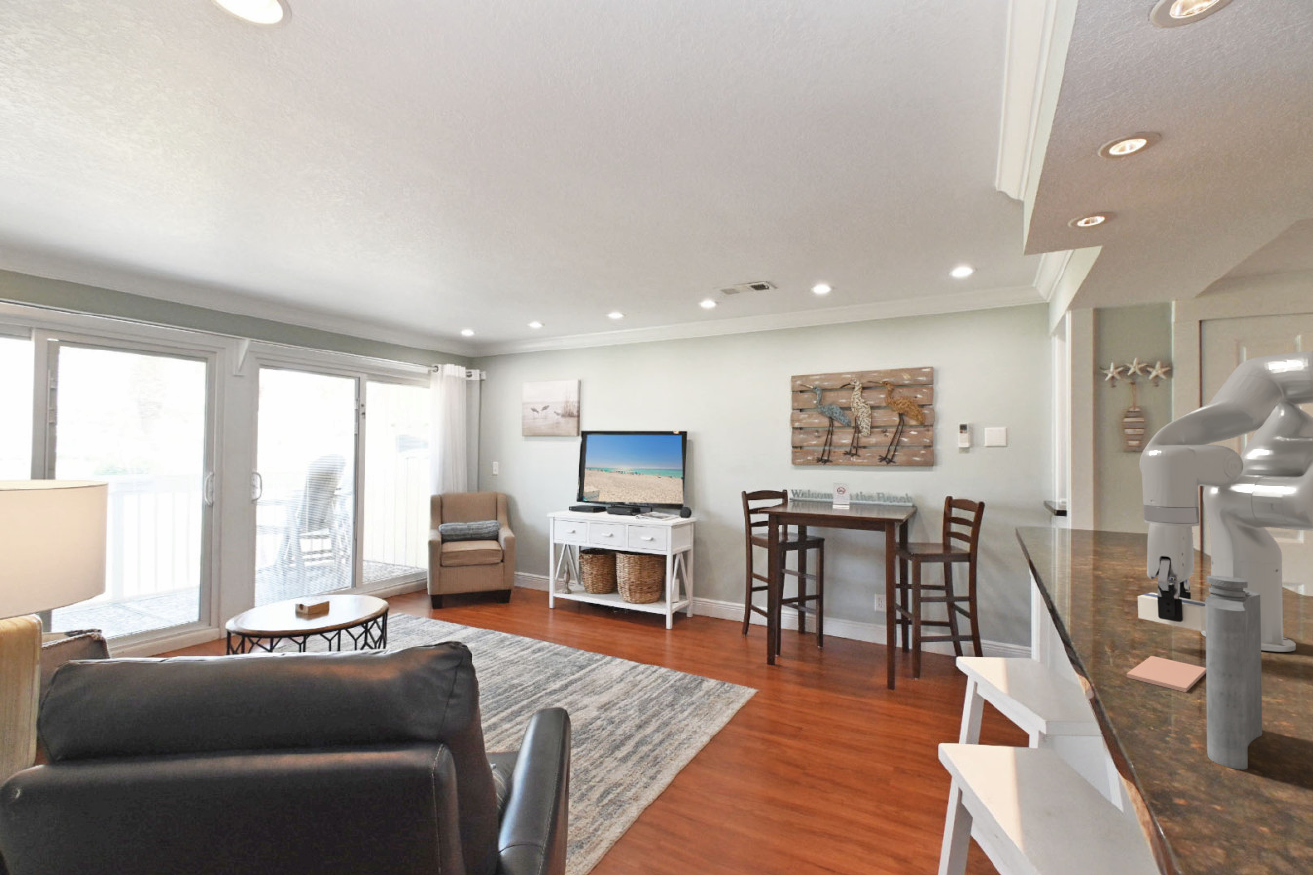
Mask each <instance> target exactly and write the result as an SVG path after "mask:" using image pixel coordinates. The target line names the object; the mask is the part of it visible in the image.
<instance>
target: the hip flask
mask: <svg viewBox="0 0 1313 875" xmlns="http://www.w3.org/2000/svg"><path fill="white" fill-rule="evenodd" d="M1247 582H1248V581H1246V580H1243V579H1239V578H1232V577H1225V576H1211V575H1206V584H1208V585H1210V586H1208V593H1210V594H1209V595H1208V596H1207V597H1206V598H1205V601H1204V602H1205V608H1206V637H1205V668H1206V673H1205V675H1206V676H1205V680H1206V682H1205V684H1206V685H1205V686H1206V694H1205V695H1206V697H1205V698H1206V699H1205V700H1206V751H1207V752H1206V753H1207V756H1208V759H1210V761H1212V762H1213V761H1214V762H1213V763H1215V764H1217V763H1218V765H1220V766H1222V765H1223V766H1222V767H1225V766H1226V768H1230V769H1233V770H1234V769H1235V770H1240V769H1241V770H1244V771H1245V770H1247V769H1248V761H1249V760H1248V759H1249V758H1248V747H1249V746H1250V745H1251V743H1252V742H1253V741H1254V740H1255V739H1257V738H1259V737H1261V736H1262V735H1263V700H1262V699H1263V696H1262V695H1263V692H1262V689H1263V688H1262V650H1261V608H1260V594H1259V593H1256V592H1251V591H1245V590H1243V588H1248V587H1247V586H1248V583H1247Z"/></svg>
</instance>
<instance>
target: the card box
mask: <svg viewBox="0 0 1313 875" xmlns="http://www.w3.org/2000/svg"><path fill="white" fill-rule="evenodd" d="M1157 596H1158V592H1157V593H1156V592H1149V593H1148V592H1147V593H1144V594H1141V595H1138V596H1137V613H1138V614H1137V615H1138V616H1137V617H1138V619H1142V620H1147V621H1150V622H1156V623H1160V624H1164V625H1169V626H1175V627H1178V628H1184V629H1187V630H1192V631H1193V630H1194V631H1198V632H1201V631H1204V630H1206V608H1205V601H1202V600H1195V599H1192V598H1191V599H1185V598H1180V597H1179V599H1182V613H1183V621H1181V622H1176V621H1171V620H1165V619H1160V618H1159V617H1158V598H1157Z"/></svg>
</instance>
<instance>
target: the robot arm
mask: <svg viewBox="0 0 1313 875" xmlns="http://www.w3.org/2000/svg"><path fill="white" fill-rule="evenodd" d="M1302 404H1303V405H1306V404H1307V405H1308V404H1313V350H1306V351H1298V352H1291V353H1290V352H1287V353H1282V354H1281V353H1279V354H1271V355H1264V356H1257V357H1253V358H1250V359H1247V360H1245V361H1242V362H1241V363H1240V364H1238V366H1236V368H1235V369H1234V370H1233V372H1232V373H1231V374H1230V375H1229V377H1228V378H1227V379H1226V380H1225V382H1224V383H1223V385H1222V386H1221V387H1220V388H1219V390H1218V391H1217V392H1216V393H1215V395H1214V396H1213V398H1212V399H1211V400H1210V402H1209V403H1207V404H1205V405H1203V406H1201V407H1199V408H1196V409H1194V410H1191V411H1190V412H1188V413H1185V415H1183V416H1180V417H1178V418H1176V419H1174V420H1172V421H1171V422H1169V423H1167V424H1166V425H1164V426H1163V427H1162V428H1160V429H1159V430H1158V431H1157V432H1156V433H1155V434H1154V435H1153V436H1152V438H1151V439H1150V440H1149V442H1148V443H1147V445H1146V446H1145V448H1144V449H1143V451H1142V452H1141V455H1140V457H1139V464H1138V467H1139V470H1140V473H1141V480H1142V482H1141V485H1142V504H1143V505H1142V507H1143V523H1145V524H1148V531H1147V544H1146V545H1147V546H1146V547H1147V550H1146V551H1147V553H1146V554H1147V555H1146V557H1147V558H1146V576H1147V577H1148V578H1149V579H1150V580H1154V579H1156V578H1157V594H1158V596H1157V598H1158V617H1159V618H1160V619H1165V620H1171V621H1176V622H1181V621H1183V613H1182V599H1179V597H1180V598H1185V599H1191V600H1192V594H1191V591H1190V590H1191V584H1190V578H1191V577H1192V576H1193V574H1194V571H1195V551H1194V549H1195V548H1194V539H1193V538H1194V537H1193V536H1194V533H1193V527H1199V526H1200V525H1201V524H1200V520H1201V519H1200V503H1199V502H1200V499H1199V487H1204V489H1203V493H1202V500H1203V501H1202V502H1203V504H1204V509H1205V513H1206V517H1207V521H1208V527H1209V535H1210V576H1225V577H1232V578H1239V579H1243V580H1246V581H1248V582H1247V583H1248V586H1247V587H1248V588H1243V590H1245V591H1251V592H1256V593H1259V594H1260V608H1261V651H1264V652H1275V653H1277V652H1278V653H1280V652H1281V653H1285V652H1287V653H1289V652H1294V651H1296V650H1297V644H1296V643H1295V642H1294V640H1291V639H1289V638H1287V637H1284V619H1283V616H1284V615H1283V611H1284V610H1283V608H1284V607H1283V604H1284V603H1283V555H1282V550H1281V547H1280V545H1279V544H1278V542H1277V541H1276V540H1275V538H1274V536H1272V535H1271V533H1270V532H1269V531H1268V530H1267V529H1266V528H1274V529H1284V530H1294V531H1295V530H1296V531H1305V532H1306V531H1310V532H1312V531H1313V416H1312V415H1310V413H1308V412H1306V411H1305V410H1303V409H1301V408H1300V406H1299V405H1302ZM1254 432H1255V433H1254ZM1250 433H1254V434H1253V435H1252V436H1251V438H1250V440H1249V441H1248V443H1247V444H1246V445H1245V447H1244V449H1243V450H1242V452H1241V454H1239V453H1238V452H1237V451H1236V450H1234V449H1233V448H1230V447H1228V446H1225V445H1220V444H1219V445H1218V444H1213V443H1218V442H1222V441H1227V440H1231V439H1235V438H1238V437H1242V436H1244V435H1248V434H1250ZM1200 633H1201V635H1202V636H1204V637H1205V638H1206V630H1204V631H1200Z"/></svg>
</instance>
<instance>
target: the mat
mask: <svg viewBox="0 0 1313 875" xmlns="http://www.w3.org/2000/svg"><path fill="white" fill-rule="evenodd" d="M1205 675H1206V667H1203V666H1200V665H1195V664H1190V663H1185V662H1181V661H1176V660H1172V659H1168V658H1163V657H1159V656H1156V655H1155V656H1154V655H1151V656H1149V657H1147V658H1146V659H1145V660H1143V661H1142V662H1141V663H1139V664H1138V665H1136V666H1135V667H1134V668H1132V669H1131V670H1129V671H1128V672H1126V678H1128V679H1132V680H1136V681H1140V682H1144V683H1147V684H1148V683H1149V684H1152V685H1154V686H1155V685H1156V686H1160V687H1164V688H1167V689H1172V690H1176V691H1180V692H1183V693H1187V692H1188V691H1190V689H1191V688H1192V687H1193V686H1194V685H1196V683H1197V682H1199V680H1200V679H1202V678H1203V676H1205Z"/></svg>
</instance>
